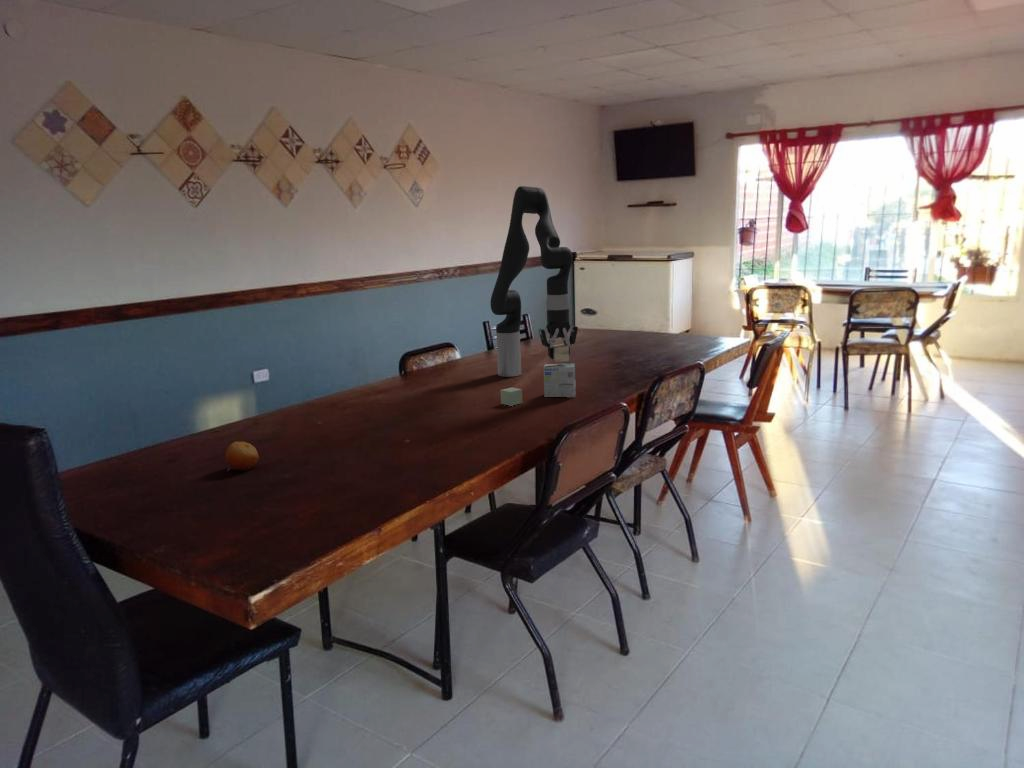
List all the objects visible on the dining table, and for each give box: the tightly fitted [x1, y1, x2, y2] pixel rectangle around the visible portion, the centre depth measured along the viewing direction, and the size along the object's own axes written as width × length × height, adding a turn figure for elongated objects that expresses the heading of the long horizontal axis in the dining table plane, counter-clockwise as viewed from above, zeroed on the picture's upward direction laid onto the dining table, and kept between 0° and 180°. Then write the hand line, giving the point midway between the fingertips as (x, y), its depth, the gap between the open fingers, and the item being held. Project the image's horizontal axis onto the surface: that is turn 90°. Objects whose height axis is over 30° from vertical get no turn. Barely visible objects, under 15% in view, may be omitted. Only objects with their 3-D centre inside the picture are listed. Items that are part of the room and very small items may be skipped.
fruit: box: [224, 441, 260, 472], centre depth 188 cm, size 8×8×8 cm
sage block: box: [500, 387, 523, 407], centre depth 245 cm, size 5×5×5 cm
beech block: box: [548, 343, 570, 363], centre depth 252 cm, size 5×5×5 cm
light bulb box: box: [542, 363, 576, 398], centre depth 254 cm, size 11×7×11 cm, turn 84°
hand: (559, 357), depth 252 cm, fingers closed on beech block, 5 cm apart
